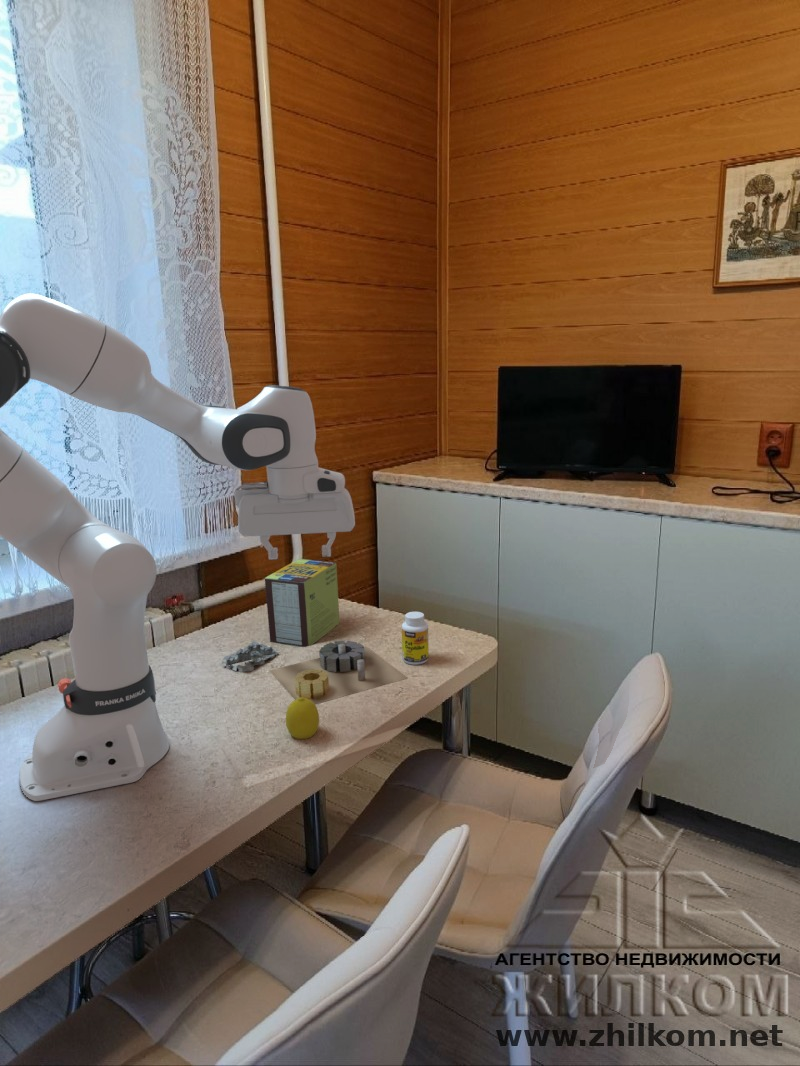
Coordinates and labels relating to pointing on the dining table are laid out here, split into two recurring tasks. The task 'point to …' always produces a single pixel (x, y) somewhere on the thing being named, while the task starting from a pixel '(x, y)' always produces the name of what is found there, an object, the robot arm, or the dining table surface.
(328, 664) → the grey gear
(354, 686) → the gear board
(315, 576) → the protein box
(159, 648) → the dining table surface
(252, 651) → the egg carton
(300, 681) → the brass gear
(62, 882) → the dining table surface
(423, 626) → the supplement bottle
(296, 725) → the lemon
